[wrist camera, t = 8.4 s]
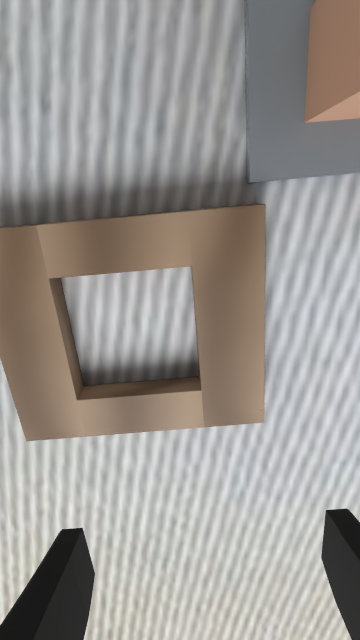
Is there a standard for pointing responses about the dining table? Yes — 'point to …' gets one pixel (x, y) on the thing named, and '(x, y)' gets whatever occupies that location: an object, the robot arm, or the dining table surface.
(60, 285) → the pocket board
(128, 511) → the dining table surface
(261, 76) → the coaster
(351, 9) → the block
